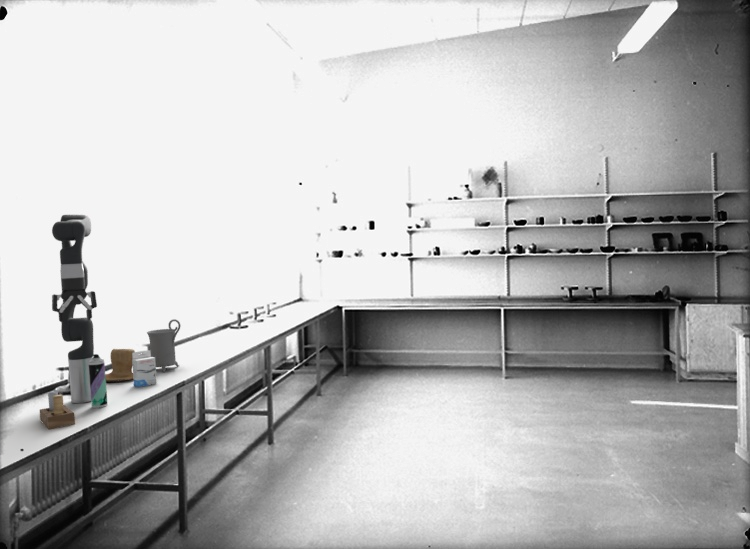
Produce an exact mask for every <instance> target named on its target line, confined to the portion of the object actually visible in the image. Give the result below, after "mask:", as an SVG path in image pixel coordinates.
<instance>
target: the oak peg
mask: <svg viewBox="0 0 750 549" xmlns="http://www.w3.org/2000/svg"><path fill="white" fill-rule="evenodd" d="M53 405H54V415H60V414H64V406H63V405H64V396H63V394H58V395H55V396H53Z"/></svg>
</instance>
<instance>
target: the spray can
mask: <svg viewBox="0 0 750 549" xmlns="http://www.w3.org/2000/svg"><path fill="white" fill-rule="evenodd" d="M105 374H106V367H105V359H103V358H102V357H100V356H99V354H97V353H94V357H93V358H92V359H91V360H90V361H89V376H90V389H91V401H90V402H91V408H93V409H94V408H95V409H97V408H99V407H100V408H104V407H106V406H105V405H107V406H108V394H107V393H108V392H107V382H106V377H105ZM103 406H104V407H103Z"/></svg>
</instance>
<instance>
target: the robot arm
mask: <svg viewBox="0 0 750 549" xmlns="http://www.w3.org/2000/svg"><path fill="white" fill-rule="evenodd" d="M91 221H92V220H91V218H90V217H89V216H88V215H85V214H62V215H61V217H60V220H59V221H56V222H55V223H54V224H53V225H52V227H51V228H52V229H51V233H52V237H53V238H54V239H55V240H56V241H59V242H61V249H60V251H59V260H60V284H61V294H55V293H53V294H52V295H51V308H52V309H51V310H52V312H56V313H58V320H59V322H61V329H60V330H61V337H62V340H63V341H64V342H81V345H80V346H79V347H77V348H75V349H73V350H70V351H68V352H67V353H68V354H67V361H68V373H69V385H70V387H69V388H70V389H69V390H70V398H71V399H70V400H71V403H73V404H82V403H89V402H91V389H90V376H89V361H90V360H91V359H92V358H93V357H94V354H95V353H94V352H95V351H94V350H95V348H94V345H95V344H94V324H93V320H92V318H93V314H92V313H93V311H92V310H93V309H96V308H97V307H98V304H97V303H98V302H97V296H96V292H95V291H88V292H87V291H86V290H87V288H88V285H89V284H88V283H89V282H88V281H89V280H88V278H89V276H88V267H87V266H86V264H85V262H84V261H83V246H84V245H83V244H84V240H85V238H87V237H88V236H90V235H91V232H92V222H91ZM71 241H72V242H74V244H72V242H71ZM87 296H88V298H90V302H91V304H89V303H88V302H87V301H86V300H85V299H86V297H87ZM60 299H62V303H61V305H60V307H59V308H58V301H59V300H60ZM79 305H82V306H84V307H85V309H86V317H75V318H74V313H75V309H76V306H79Z"/></svg>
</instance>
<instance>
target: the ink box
mask: <svg viewBox="0 0 750 549" xmlns="http://www.w3.org/2000/svg"><path fill="white" fill-rule="evenodd" d="M132 357H133V360H132V364H133V366H132V373H133V379H132V380H133V386H134V387H137V388H140V387H145V386H146V387H147V386H151V384H152V385H156V383H157V382H158V381H157V369H156V368H157V367H156V364H155V357H151V352H150V349H148V350H141V351H140V350H139V351H135V352H133V353H132ZM157 384H158V383H157Z"/></svg>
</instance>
